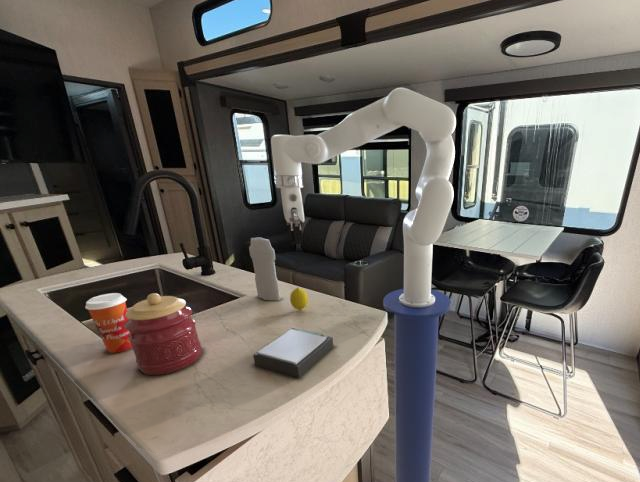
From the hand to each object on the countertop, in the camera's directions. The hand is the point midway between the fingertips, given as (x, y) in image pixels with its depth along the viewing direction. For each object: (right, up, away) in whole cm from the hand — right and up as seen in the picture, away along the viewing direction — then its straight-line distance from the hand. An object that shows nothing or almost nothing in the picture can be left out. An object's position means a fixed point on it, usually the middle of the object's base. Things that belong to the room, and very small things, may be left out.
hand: (295, 240), depth 98 cm
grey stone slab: (-15, -19, +16) cm, 29 cm away
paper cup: (-41, -30, -14) cm, 53 cm away
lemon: (0, -22, +7) cm, 23 cm away
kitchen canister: (-24, -32, -20) cm, 45 cm away
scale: (+6, -32, -18) cm, 37 cm away
